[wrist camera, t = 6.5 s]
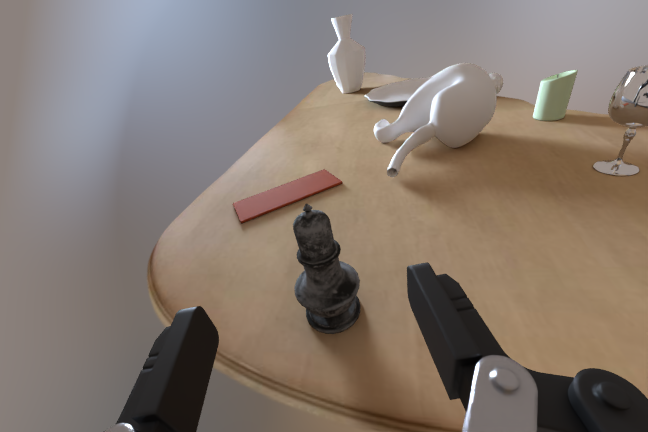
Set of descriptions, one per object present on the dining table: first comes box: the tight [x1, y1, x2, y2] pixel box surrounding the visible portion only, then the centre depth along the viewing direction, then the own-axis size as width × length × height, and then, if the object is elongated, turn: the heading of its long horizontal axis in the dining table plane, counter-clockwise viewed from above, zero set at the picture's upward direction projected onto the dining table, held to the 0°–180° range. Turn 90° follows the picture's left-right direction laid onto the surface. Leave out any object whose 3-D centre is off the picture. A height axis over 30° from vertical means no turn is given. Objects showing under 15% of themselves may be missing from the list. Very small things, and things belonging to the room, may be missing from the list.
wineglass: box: [593, 66, 648, 176], centre depth 34 cm, size 6×6×12 cm
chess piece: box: [293, 204, 360, 334], centre depth 24 cm, size 6×6×12 cm
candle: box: [533, 70, 577, 121], centre depth 53 cm, size 5×5×8 cm
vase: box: [328, 14, 365, 93], centre depth 107 cm, size 14×14×25 cm
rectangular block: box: [233, 169, 342, 223], centre depth 48 cm, size 18×7×1 cm, turn 116°
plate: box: [365, 77, 431, 107], centre depth 87 cm, size 29×29×2 cm
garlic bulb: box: [488, 73, 503, 94], centre depth 72 cm, size 6×6×5 cm
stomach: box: [374, 63, 496, 177], centre depth 51 cm, size 23×13×24 cm
